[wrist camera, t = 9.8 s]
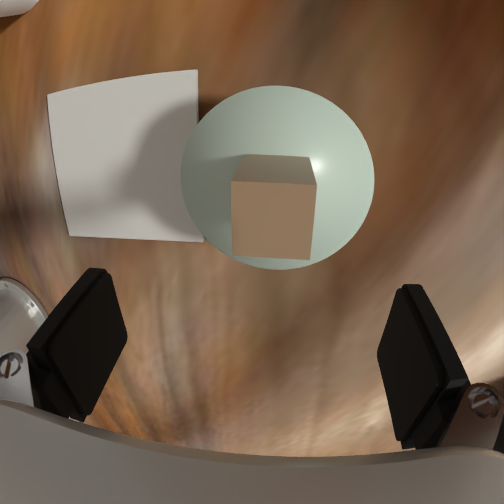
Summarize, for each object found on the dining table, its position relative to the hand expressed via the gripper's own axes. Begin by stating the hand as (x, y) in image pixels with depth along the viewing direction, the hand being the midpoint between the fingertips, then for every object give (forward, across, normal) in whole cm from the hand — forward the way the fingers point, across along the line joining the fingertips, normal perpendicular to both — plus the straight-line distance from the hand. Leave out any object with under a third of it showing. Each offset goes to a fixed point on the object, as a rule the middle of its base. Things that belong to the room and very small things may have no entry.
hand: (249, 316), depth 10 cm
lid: (+14, -1, 0) cm, 14 cm away
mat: (+20, +14, 0) cm, 24 cm away
